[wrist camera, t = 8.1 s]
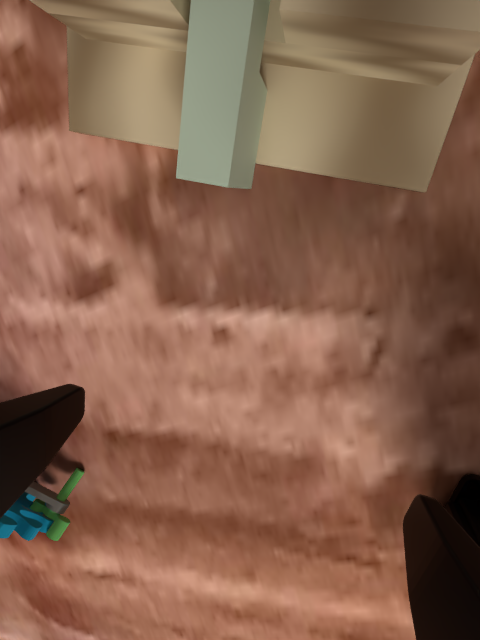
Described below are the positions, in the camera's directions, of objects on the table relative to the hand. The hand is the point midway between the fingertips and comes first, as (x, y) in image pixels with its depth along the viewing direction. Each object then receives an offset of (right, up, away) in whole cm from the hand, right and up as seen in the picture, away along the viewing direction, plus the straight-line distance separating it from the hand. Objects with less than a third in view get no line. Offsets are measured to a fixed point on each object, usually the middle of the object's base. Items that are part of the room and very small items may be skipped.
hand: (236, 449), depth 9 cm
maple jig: (+1, +16, +6) cm, 17 cm away
